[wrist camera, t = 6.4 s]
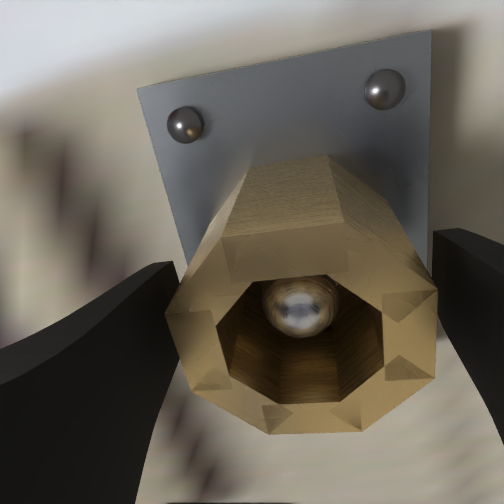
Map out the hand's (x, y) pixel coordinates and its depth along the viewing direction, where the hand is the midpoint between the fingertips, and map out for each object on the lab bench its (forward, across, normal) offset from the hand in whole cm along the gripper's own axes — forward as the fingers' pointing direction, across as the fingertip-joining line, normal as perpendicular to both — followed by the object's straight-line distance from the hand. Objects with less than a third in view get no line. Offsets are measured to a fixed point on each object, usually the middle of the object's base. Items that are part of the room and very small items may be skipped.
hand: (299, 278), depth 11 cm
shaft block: (+3, 0, 0) cm, 3 cm away
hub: (+2, 0, 0) cm, 2 cm away
